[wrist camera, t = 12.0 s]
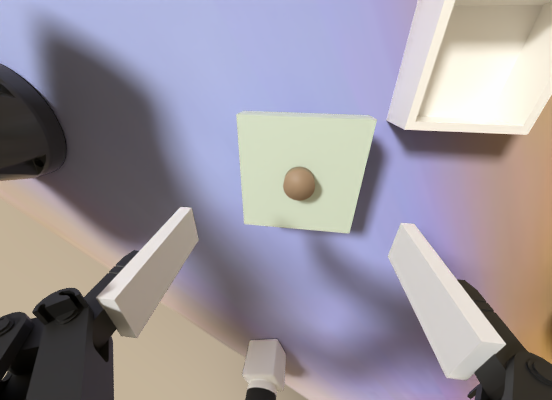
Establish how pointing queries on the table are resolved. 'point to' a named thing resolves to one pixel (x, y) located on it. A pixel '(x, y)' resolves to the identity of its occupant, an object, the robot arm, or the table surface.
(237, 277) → the table surface
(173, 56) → the table surface
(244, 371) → the medicine bottle
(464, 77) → the dish
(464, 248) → the table surface
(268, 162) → the lid
